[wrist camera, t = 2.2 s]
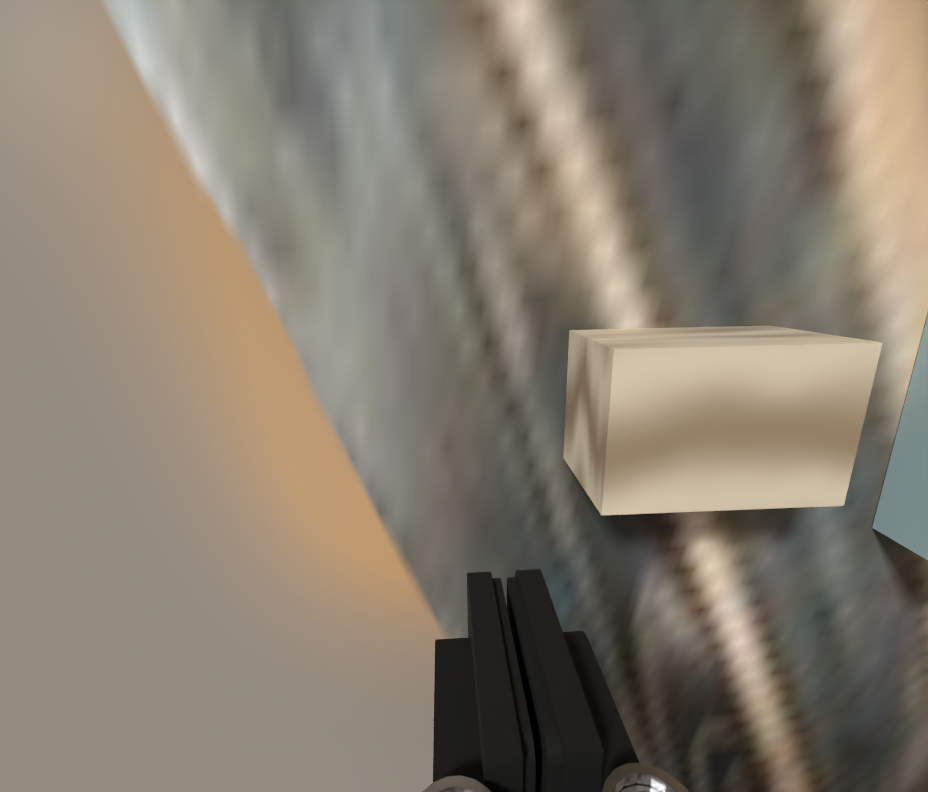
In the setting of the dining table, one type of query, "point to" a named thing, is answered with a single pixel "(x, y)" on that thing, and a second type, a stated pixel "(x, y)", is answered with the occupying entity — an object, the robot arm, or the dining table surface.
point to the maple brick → (715, 417)
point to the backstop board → (909, 467)
